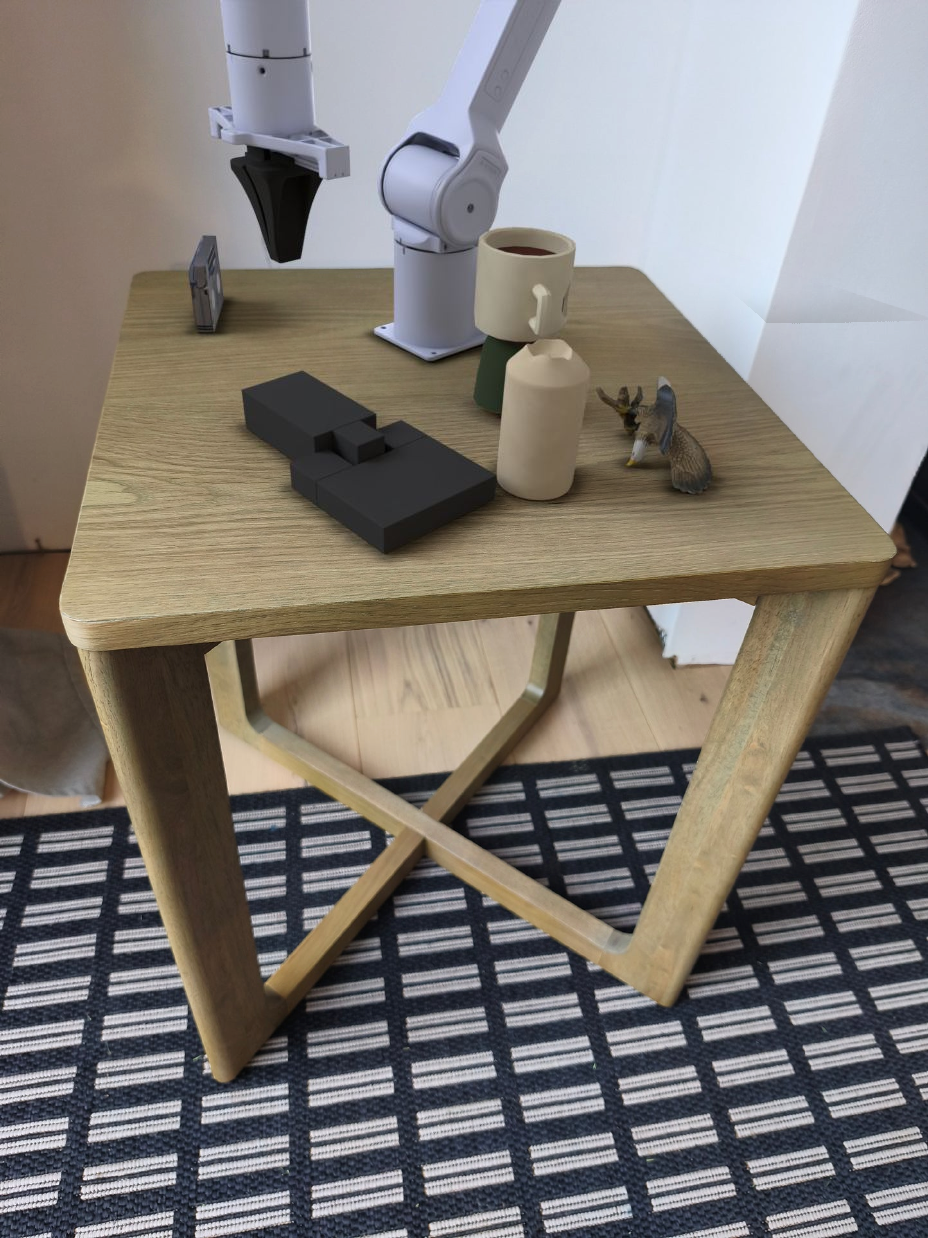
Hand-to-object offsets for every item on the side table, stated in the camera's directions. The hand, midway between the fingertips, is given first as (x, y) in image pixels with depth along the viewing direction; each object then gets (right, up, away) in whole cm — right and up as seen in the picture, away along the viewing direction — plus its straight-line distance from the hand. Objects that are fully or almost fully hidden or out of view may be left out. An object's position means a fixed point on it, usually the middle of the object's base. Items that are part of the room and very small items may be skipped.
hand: (285, 258), depth 67 cm
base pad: (+9, -19, -7) cm, 23 cm away
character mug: (+18, -11, +4) cm, 21 cm away
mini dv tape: (-10, +1, +14) cm, 18 cm away
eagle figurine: (+28, -16, -2) cm, 33 cm away
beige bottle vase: (+19, -18, -5) cm, 27 cm away
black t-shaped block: (+3, -15, -3) cm, 16 cm away
